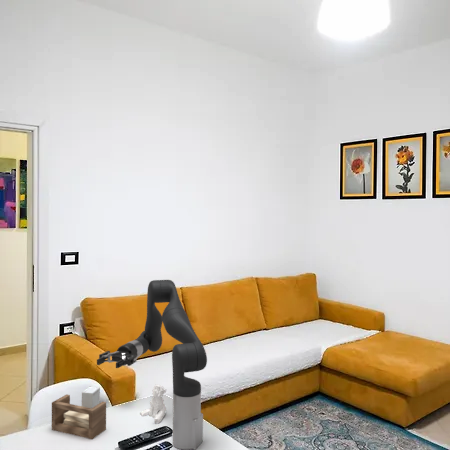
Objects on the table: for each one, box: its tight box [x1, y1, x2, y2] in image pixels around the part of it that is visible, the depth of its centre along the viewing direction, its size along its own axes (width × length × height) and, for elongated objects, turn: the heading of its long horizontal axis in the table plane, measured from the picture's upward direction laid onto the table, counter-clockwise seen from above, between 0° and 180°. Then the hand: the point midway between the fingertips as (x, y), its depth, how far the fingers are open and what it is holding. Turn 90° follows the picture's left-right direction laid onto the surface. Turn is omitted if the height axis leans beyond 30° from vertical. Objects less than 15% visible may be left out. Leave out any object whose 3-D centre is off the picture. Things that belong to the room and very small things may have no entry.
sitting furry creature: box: [139, 384, 167, 425], centre depth 171 cm, size 10×9×12 cm
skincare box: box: [81, 386, 101, 408], centre depth 166 cm, size 6×4×12 cm
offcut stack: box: [63, 411, 89, 430], centre depth 160 cm, size 12×5×5 cm, turn 69°
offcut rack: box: [51, 394, 107, 440], centre depth 159 cm, size 17×8×10 cm, turn 69°
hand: (107, 364), depth 175 cm, fingers open, 8 cm apart
